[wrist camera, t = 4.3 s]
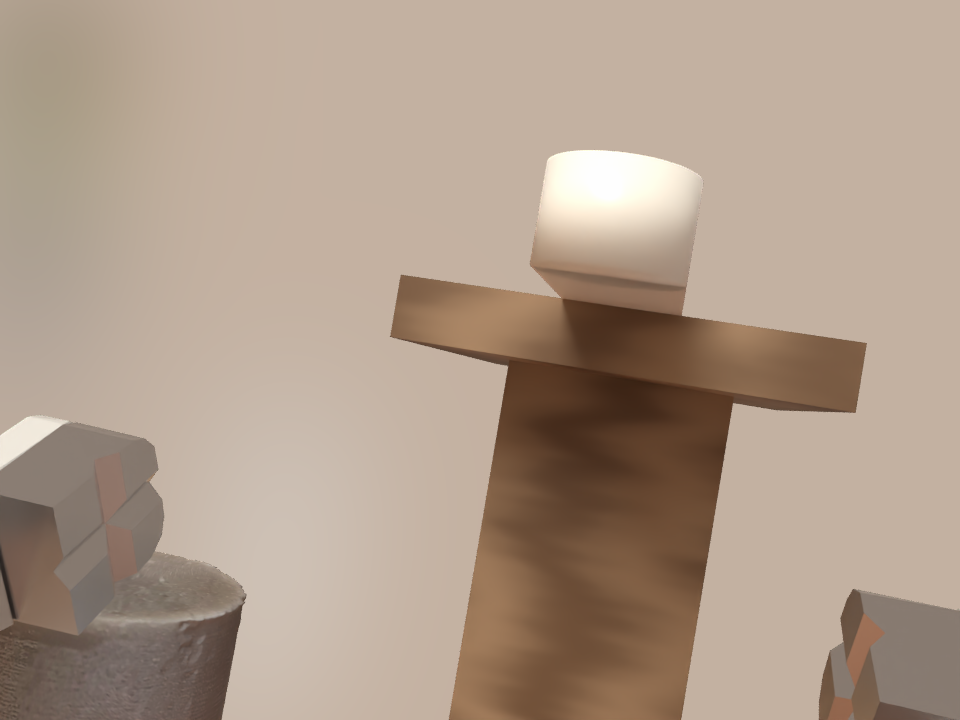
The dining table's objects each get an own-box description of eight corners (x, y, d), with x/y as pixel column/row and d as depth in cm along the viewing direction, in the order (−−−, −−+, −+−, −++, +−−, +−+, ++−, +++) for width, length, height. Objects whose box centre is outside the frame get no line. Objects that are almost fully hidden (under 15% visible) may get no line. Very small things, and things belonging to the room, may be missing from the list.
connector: (675, 352, 44) (683, 304, 44) (688, 275, 18) (707, 161, 18) (602, 341, 44) (610, 294, 45) (518, 252, 19) (536, 142, 19)
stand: (696, 905, 42) (784, 369, 43) (718, 1261, 25) (866, 343, 25) (418, 826, 45) (502, 325, 46) (261, 1093, 28) (400, 274, 28)
